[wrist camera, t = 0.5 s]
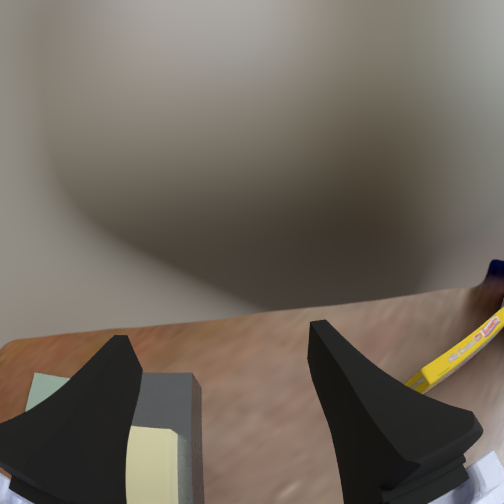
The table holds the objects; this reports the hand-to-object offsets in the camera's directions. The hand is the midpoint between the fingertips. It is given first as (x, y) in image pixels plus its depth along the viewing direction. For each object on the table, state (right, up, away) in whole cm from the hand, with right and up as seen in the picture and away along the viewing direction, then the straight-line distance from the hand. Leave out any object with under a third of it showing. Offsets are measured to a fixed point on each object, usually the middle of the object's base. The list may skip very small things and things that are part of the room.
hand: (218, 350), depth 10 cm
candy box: (+23, -11, +14) cm, 29 cm away
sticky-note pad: (-8, -14, +6) cm, 18 cm away
